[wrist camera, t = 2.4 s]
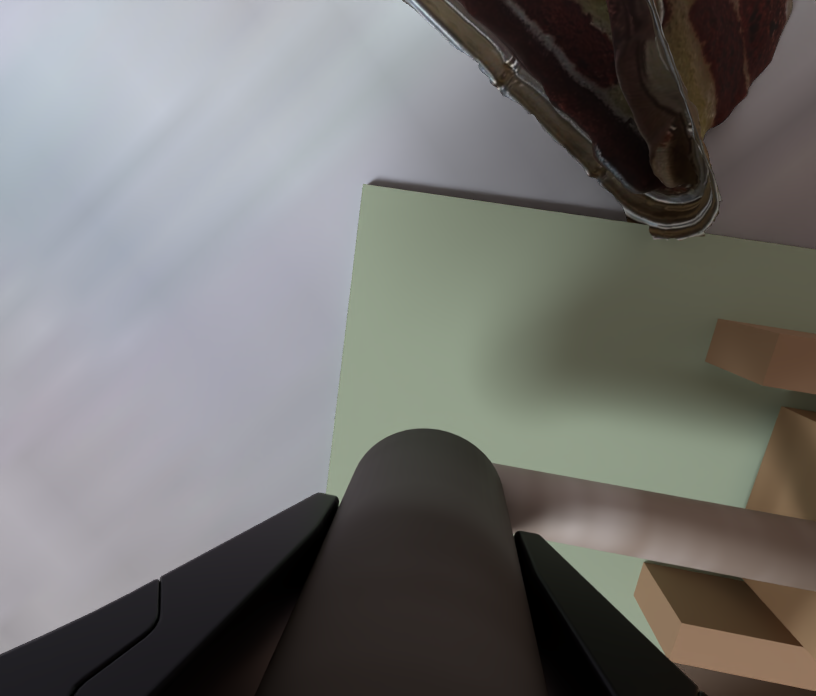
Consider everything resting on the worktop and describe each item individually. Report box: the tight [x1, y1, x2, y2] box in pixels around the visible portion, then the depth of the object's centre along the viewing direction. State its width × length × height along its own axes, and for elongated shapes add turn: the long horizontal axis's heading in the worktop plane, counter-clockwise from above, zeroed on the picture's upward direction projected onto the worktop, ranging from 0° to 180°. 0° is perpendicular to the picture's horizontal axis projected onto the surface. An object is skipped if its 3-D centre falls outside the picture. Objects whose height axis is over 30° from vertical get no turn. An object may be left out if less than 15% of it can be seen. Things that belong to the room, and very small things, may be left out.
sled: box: [255, 406, 816, 696], centre depth 8 cm, size 5×15×10 cm, turn 82°
